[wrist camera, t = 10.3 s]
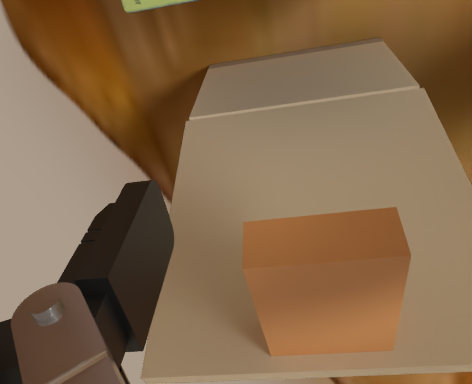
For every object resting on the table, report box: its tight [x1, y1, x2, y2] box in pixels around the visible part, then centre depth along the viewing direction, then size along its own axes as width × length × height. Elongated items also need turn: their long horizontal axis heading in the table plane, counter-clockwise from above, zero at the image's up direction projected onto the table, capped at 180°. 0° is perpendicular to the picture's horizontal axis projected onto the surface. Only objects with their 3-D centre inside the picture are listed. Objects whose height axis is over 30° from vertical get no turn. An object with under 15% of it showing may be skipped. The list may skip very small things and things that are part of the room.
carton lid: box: [141, 88, 472, 384], centre depth 17 cm, size 13×14×6 cm
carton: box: [189, 38, 419, 121], centre depth 32 cm, size 13×15×10 cm
